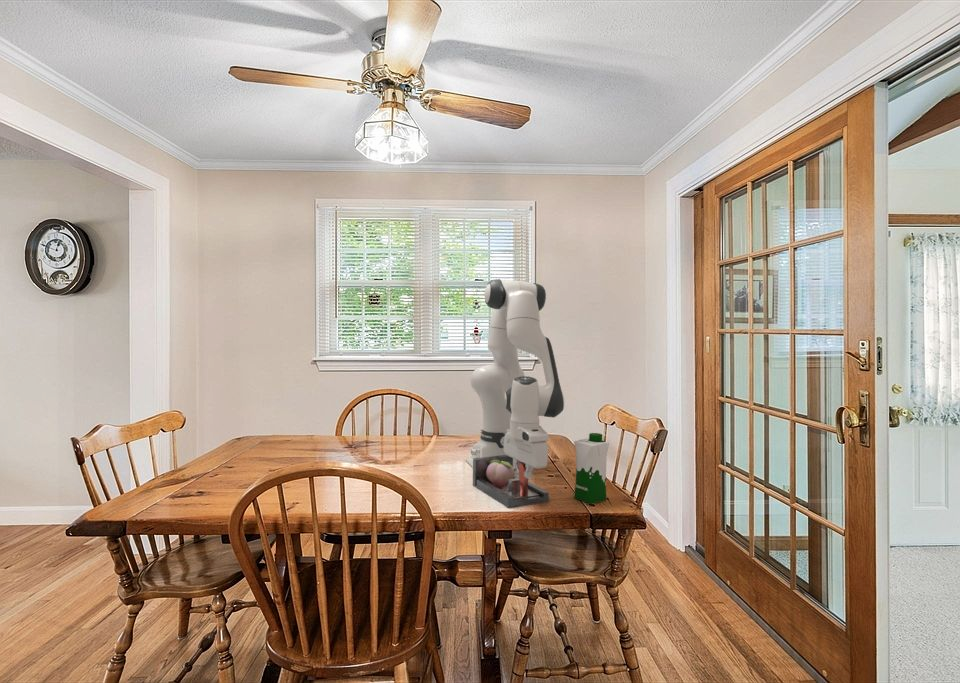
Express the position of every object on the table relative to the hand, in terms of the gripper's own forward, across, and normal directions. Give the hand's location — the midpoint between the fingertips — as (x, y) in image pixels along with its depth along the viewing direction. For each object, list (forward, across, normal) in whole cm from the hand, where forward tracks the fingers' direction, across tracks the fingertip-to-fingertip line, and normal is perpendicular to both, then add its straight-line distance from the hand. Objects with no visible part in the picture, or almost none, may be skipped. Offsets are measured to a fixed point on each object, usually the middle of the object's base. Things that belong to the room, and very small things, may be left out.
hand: (523, 476), depth 157 cm
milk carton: (+8, +7, +20) cm, 23 cm away
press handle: (+8, -2, 0) cm, 8 cm away
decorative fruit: (+8, -14, 0) cm, 16 cm away
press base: (+8, -9, 0) cm, 12 cm away
